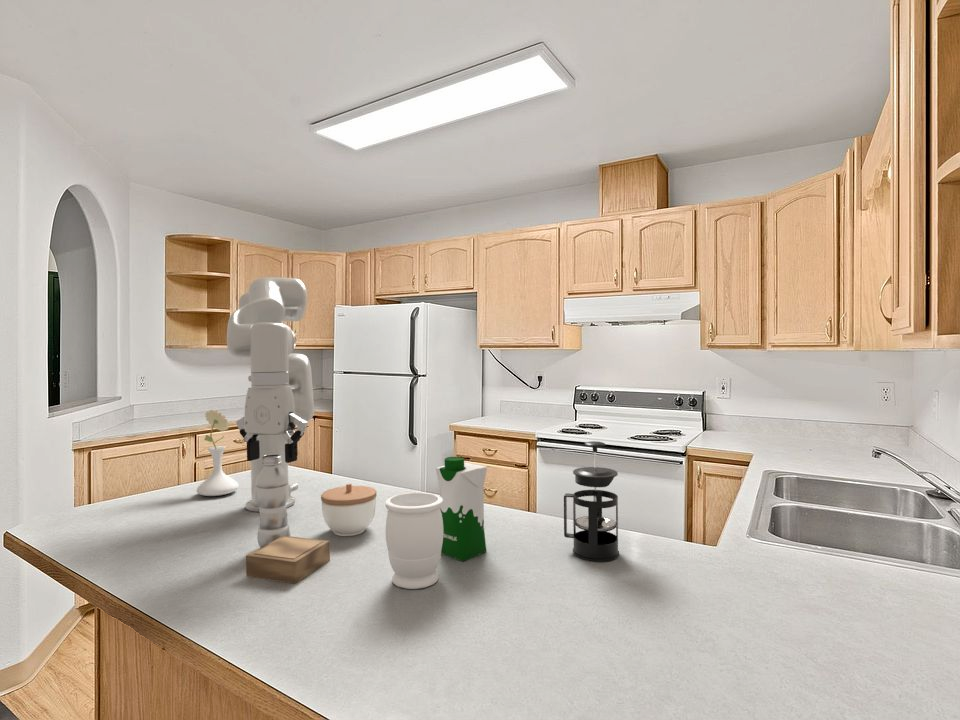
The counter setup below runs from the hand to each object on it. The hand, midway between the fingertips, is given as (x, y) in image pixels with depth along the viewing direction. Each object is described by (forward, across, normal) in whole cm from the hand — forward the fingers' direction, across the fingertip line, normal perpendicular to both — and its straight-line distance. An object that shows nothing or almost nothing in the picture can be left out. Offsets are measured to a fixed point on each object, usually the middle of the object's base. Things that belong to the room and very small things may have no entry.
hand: (272, 460), depth 115 cm
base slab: (+19, +10, -7) cm, 23 cm away
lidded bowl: (+19, +10, +15) cm, 26 cm away
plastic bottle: (+19, 0, +1) cm, 19 cm away
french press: (+20, +66, +17) cm, 70 cm away
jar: (+20, +36, -5) cm, 41 cm away
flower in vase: (+18, -46, +33) cm, 60 cm away
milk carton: (+20, +40, +10) cm, 45 cm away
